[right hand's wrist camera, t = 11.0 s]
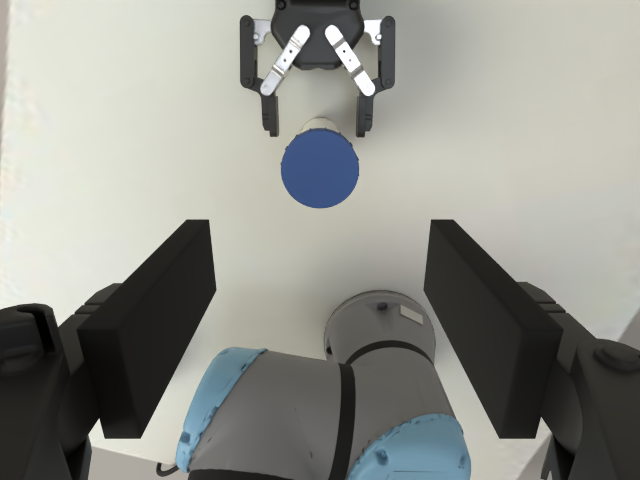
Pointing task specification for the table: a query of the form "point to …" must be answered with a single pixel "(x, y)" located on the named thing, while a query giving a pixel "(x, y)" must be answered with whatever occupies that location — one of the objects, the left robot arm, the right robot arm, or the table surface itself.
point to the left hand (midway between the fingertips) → (317, 136)
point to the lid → (320, 168)
